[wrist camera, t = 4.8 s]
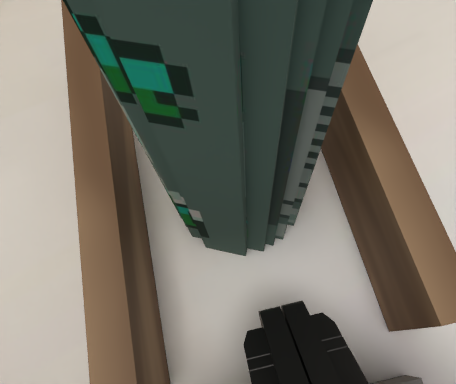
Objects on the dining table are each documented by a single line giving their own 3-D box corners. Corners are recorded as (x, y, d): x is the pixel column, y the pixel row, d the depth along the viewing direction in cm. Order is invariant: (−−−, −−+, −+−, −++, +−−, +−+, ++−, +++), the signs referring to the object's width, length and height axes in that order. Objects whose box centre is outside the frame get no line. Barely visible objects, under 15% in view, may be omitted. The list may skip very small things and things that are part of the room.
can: (197, 136, 21) (97, -259, 7) (305, 155, 20) (421, -249, 7) (167, 238, 19) (-57, -47, 5) (286, 264, 18) (400, 6, 4)
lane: (136, 394, 16) (92, 412, 12) (96, 49, 24) (59, -21, 19) (421, 323, 17) (485, 315, 12) (293, 7, 25) (302, -72, 20)
